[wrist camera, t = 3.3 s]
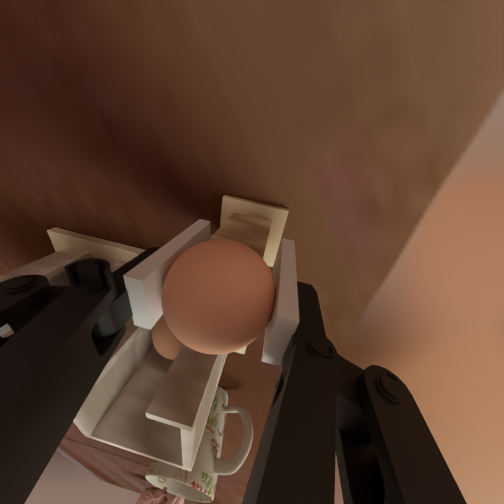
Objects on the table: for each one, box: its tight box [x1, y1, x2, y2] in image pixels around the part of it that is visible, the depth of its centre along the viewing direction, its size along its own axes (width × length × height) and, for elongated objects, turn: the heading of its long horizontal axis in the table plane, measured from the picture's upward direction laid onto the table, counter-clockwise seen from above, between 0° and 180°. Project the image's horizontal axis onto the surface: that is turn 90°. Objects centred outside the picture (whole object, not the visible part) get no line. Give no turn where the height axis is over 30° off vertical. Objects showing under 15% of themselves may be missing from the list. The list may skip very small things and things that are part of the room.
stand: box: [211, 195, 289, 267], centre depth 13 cm, size 5×5×5 cm
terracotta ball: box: [161, 239, 275, 354], centre depth 8 cm, size 5×5×5 cm
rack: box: [0, 227, 246, 471], centre depth 16 cm, size 22×11×11 cm, turn 80°
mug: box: [145, 386, 253, 503], centre depth 25 cm, size 8×13×10 cm, turn 115°
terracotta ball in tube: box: [152, 315, 183, 360], centre depth 18 cm, size 5×5×5 cm
